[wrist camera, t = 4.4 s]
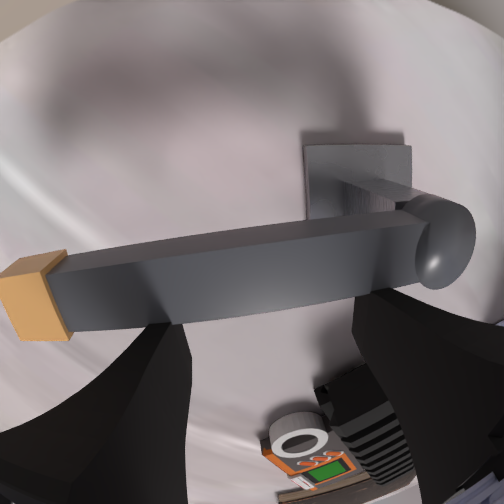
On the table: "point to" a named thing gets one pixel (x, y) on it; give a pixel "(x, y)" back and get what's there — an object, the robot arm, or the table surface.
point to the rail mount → (367, 424)
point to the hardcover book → (346, 491)
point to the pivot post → (357, 179)
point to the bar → (238, 271)
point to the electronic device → (309, 451)
